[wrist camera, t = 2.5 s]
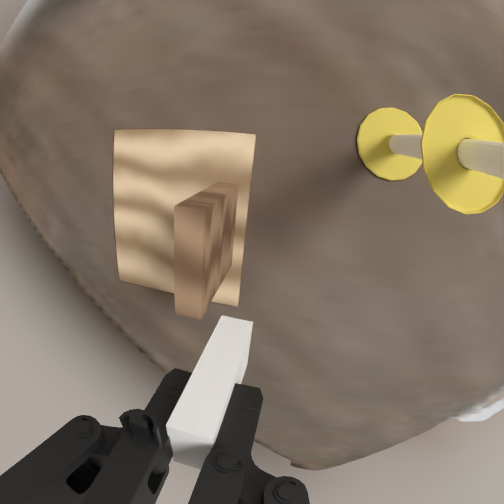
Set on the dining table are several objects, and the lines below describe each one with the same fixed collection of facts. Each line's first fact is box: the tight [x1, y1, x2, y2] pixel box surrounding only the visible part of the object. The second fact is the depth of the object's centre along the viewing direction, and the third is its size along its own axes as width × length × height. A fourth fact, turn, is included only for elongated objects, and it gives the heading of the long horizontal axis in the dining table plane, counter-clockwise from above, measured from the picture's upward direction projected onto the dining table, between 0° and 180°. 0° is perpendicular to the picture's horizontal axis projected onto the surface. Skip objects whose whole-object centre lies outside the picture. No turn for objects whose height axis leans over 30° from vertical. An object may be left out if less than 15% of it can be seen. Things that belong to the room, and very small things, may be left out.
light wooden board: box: [113, 129, 256, 307], centre depth 42 cm, size 26×22×1 cm
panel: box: [174, 182, 239, 319], centre depth 34 cm, size 12×3×14 cm, turn 174°
